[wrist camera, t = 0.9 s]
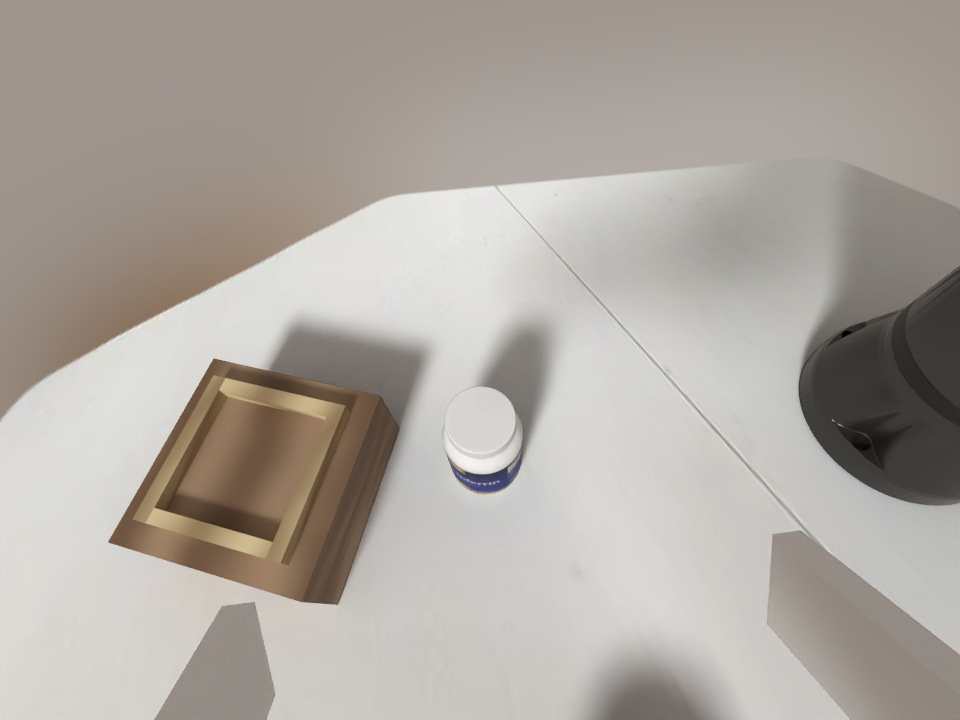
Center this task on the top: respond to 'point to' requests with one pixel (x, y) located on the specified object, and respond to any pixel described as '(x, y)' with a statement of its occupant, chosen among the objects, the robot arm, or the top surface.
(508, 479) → the pill bottle
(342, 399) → the tray
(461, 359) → the top surface
